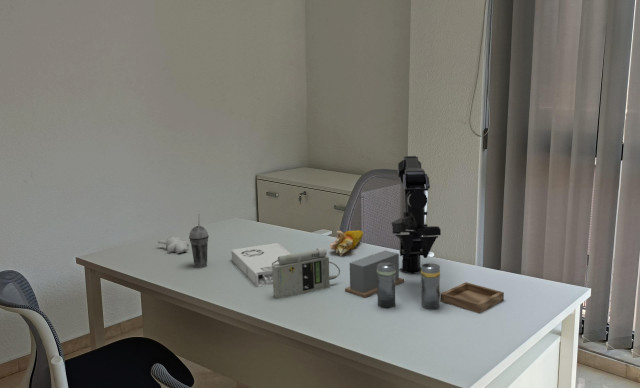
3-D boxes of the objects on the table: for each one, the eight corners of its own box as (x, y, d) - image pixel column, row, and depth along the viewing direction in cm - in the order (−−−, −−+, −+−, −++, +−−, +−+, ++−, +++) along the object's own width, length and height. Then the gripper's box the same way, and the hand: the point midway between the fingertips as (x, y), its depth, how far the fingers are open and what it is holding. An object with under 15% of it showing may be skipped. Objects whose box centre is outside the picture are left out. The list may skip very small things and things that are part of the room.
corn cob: (362, 249, 274) (339, 259, 252) (347, 239, 277) (323, 248, 254) (371, 233, 272) (349, 242, 249) (356, 223, 274) (332, 230, 252)
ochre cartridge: (428, 301, 206) (428, 262, 203) (443, 306, 202) (444, 266, 199) (417, 306, 202) (417, 266, 199) (432, 311, 198) (432, 270, 195)
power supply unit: (257, 288, 223) (257, 275, 222) (231, 262, 253) (231, 249, 252) (308, 280, 231) (308, 266, 229) (277, 255, 260) (277, 243, 259)
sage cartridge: (385, 299, 208) (385, 261, 205) (399, 304, 204) (399, 264, 201) (373, 305, 204) (372, 265, 201) (387, 309, 200) (387, 269, 197)
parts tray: (465, 289, 215) (465, 282, 214) (503, 300, 205) (503, 292, 204) (440, 301, 205) (440, 293, 205) (478, 313, 195) (479, 305, 195)
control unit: (384, 276, 230) (383, 248, 228) (404, 281, 224) (404, 253, 222) (344, 291, 217) (344, 262, 214) (364, 297, 210) (364, 268, 208)
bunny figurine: (173, 247, 259) (155, 235, 270) (173, 258, 261) (155, 247, 271) (194, 242, 266) (175, 231, 276) (194, 253, 267) (175, 242, 278)
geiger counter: (275, 259, 208) (344, 246, 219) (268, 253, 214) (334, 241, 225) (277, 299, 211) (344, 285, 222) (270, 293, 217) (335, 279, 228)
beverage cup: (187, 268, 245) (183, 216, 241) (197, 262, 252) (194, 212, 248) (204, 269, 243) (200, 218, 238) (214, 264, 249) (210, 213, 245)
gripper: (378, 209, 217) (379, 256, 217) (413, 209, 200) (413, 260, 200) (406, 208, 222) (406, 254, 222) (441, 208, 206) (442, 258, 206)
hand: (416, 256), depth 212 cm, fingers open, 9 cm apart
